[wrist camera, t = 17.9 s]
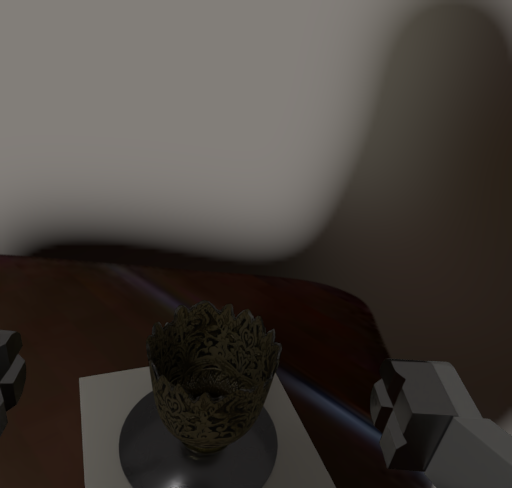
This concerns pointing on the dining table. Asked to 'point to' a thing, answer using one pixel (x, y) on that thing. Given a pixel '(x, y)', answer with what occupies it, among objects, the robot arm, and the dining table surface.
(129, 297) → the dining table surface
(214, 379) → the cup
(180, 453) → the display tile
